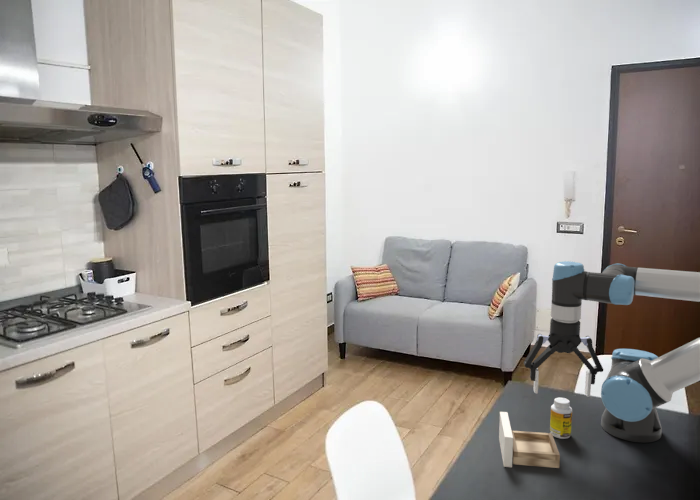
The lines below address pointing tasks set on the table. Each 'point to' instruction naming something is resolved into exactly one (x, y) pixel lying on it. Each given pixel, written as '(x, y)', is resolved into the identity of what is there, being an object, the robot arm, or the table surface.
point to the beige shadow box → (535, 449)
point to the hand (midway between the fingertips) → (561, 393)
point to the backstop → (505, 439)
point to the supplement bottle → (561, 418)
